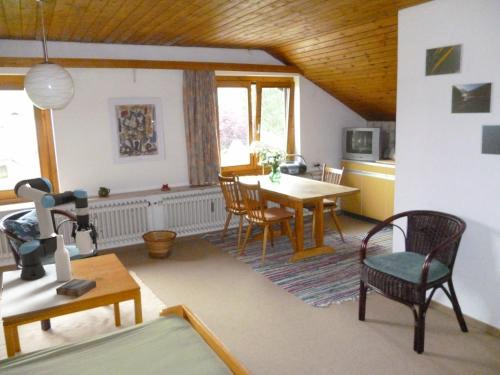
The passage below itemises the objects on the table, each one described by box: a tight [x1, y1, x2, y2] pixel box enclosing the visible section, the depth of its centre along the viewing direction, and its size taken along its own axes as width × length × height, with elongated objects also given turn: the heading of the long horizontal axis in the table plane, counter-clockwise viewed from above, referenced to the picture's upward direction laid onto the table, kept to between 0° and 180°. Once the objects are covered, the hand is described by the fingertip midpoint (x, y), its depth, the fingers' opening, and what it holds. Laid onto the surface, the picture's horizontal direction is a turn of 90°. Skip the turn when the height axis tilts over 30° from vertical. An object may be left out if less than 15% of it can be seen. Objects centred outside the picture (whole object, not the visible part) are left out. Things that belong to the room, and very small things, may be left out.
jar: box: [75, 228, 94, 255], centre depth 270 cm, size 11×10×15 cm
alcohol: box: [53, 234, 73, 283], centre depth 279 cm, size 9×9×30 cm
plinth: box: [55, 278, 97, 298], centre depth 263 cm, size 16×16×4 cm
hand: (85, 248), depth 271 cm, fingers closed on jar, 10 cm apart
